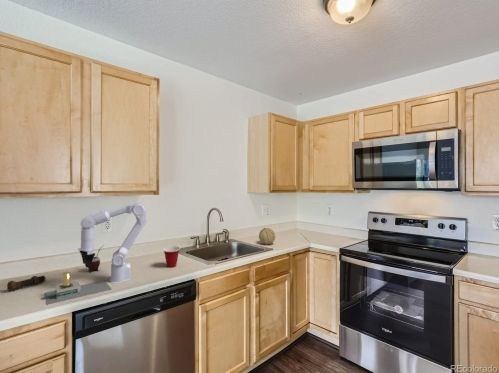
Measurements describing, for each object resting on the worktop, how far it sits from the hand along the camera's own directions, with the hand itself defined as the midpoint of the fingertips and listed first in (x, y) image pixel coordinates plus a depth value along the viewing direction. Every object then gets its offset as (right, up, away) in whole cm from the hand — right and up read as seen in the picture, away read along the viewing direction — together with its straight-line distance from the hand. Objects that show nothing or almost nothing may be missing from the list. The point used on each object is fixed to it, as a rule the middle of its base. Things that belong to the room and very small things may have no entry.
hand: (86, 265), depth 137 cm
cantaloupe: (+102, -11, +95) cm, 140 cm away
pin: (-2, -10, -12) cm, 16 cm away
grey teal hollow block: (-3, -10, -13) cm, 17 cm away
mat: (+2, -11, -9) cm, 14 cm away
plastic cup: (+35, -11, +32) cm, 49 cm away
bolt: (-29, -11, -3) cm, 31 cm away
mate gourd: (-9, -10, +22) cm, 26 cm away
